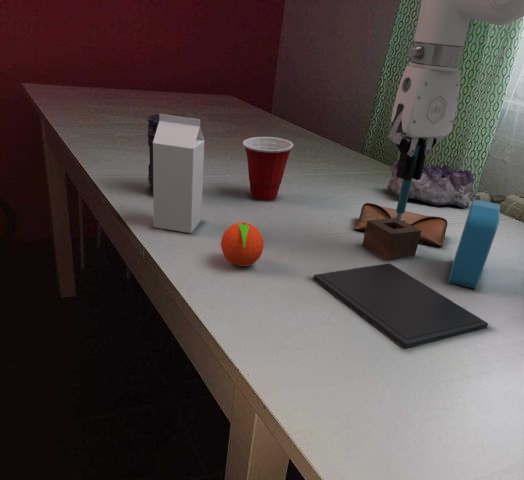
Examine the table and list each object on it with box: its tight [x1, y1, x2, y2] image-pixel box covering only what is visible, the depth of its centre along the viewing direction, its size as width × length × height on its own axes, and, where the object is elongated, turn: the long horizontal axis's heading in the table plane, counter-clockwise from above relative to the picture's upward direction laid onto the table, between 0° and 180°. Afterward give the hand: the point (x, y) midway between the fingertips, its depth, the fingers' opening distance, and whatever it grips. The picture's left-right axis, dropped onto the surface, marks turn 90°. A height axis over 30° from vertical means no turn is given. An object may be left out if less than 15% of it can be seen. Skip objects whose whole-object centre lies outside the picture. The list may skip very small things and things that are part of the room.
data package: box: [448, 199, 501, 290], centre depth 91 cm, size 12×4×12 cm, turn 158°
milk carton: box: [152, 113, 206, 234], centre depth 96 cm, size 7×7×19 cm
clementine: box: [220, 221, 265, 267], centre depth 86 cm, size 8×7×7 cm
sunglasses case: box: [354, 202, 448, 247], centre depth 109 cm, size 18×7×7 cm
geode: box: [386, 160, 475, 209], centre depth 130 cm, size 20×12×10 cm, turn 80°
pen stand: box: [361, 218, 421, 261], centre depth 99 cm, size 7×7×5 cm
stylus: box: [395, 144, 420, 221], centre depth 93 cm, size 2×2×13 cm
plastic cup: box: [242, 136, 294, 202], centre depth 118 cm, size 11×11×12 cm
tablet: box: [313, 262, 489, 349], centre depth 82 cm, size 16×22×1 cm
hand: (408, 177), depth 93 cm, fingers closed on stylus, 1 cm apart
